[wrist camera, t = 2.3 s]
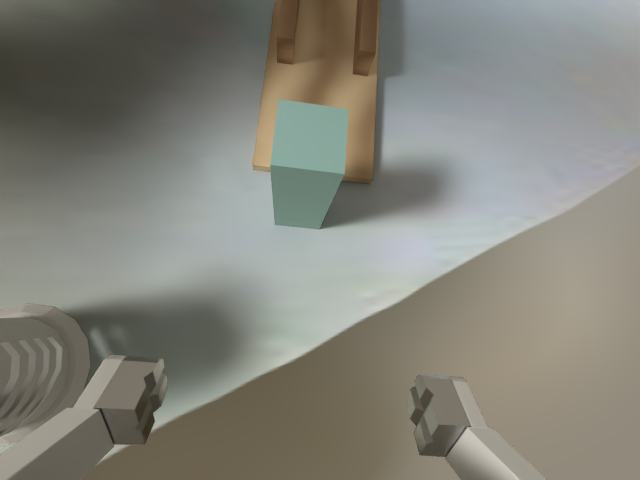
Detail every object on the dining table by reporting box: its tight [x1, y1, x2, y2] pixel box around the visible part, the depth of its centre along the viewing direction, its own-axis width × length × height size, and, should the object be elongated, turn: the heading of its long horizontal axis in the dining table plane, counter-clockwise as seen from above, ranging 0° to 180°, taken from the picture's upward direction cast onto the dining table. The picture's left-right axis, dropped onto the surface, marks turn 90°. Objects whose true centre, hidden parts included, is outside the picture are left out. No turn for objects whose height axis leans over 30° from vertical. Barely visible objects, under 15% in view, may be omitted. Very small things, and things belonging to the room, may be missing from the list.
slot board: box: [253, 0, 380, 184], centre depth 29 cm, size 11×24×8 cm, turn 175°
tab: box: [270, 99, 349, 229], centre depth 23 cm, size 4×4×12 cm
